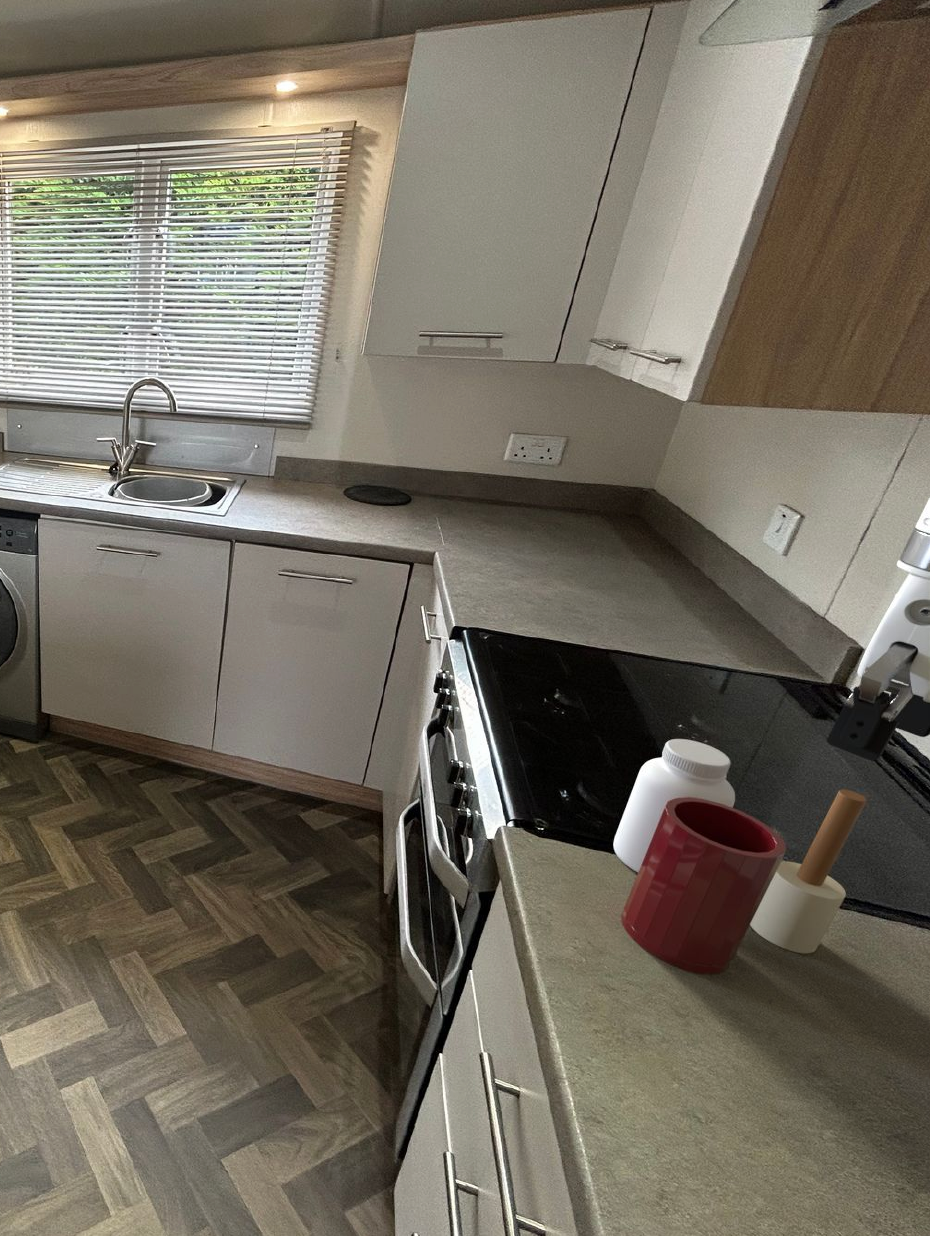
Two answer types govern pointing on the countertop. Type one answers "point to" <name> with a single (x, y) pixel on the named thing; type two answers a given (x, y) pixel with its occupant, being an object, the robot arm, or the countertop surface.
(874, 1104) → the countertop surface
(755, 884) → the red faceted pen holder
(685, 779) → the pill bottle
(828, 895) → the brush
